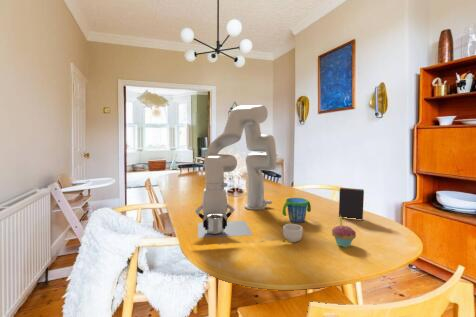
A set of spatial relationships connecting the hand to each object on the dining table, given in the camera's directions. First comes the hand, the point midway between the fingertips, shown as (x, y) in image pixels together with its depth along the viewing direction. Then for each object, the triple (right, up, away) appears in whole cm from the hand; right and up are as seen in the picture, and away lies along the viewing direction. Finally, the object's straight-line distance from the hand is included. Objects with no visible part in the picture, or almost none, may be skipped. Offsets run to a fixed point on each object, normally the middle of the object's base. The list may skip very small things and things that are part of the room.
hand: (215, 228), depth 109 cm
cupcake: (+50, -4, -8) cm, 51 cm away
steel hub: (0, -1, 0) cm, 1 cm away
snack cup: (+38, -2, +20) cm, 43 cm away
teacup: (+32, -4, -3) cm, 32 cm away
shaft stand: (+3, -3, +5) cm, 6 cm away
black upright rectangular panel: (+66, -1, +23) cm, 70 cm away
